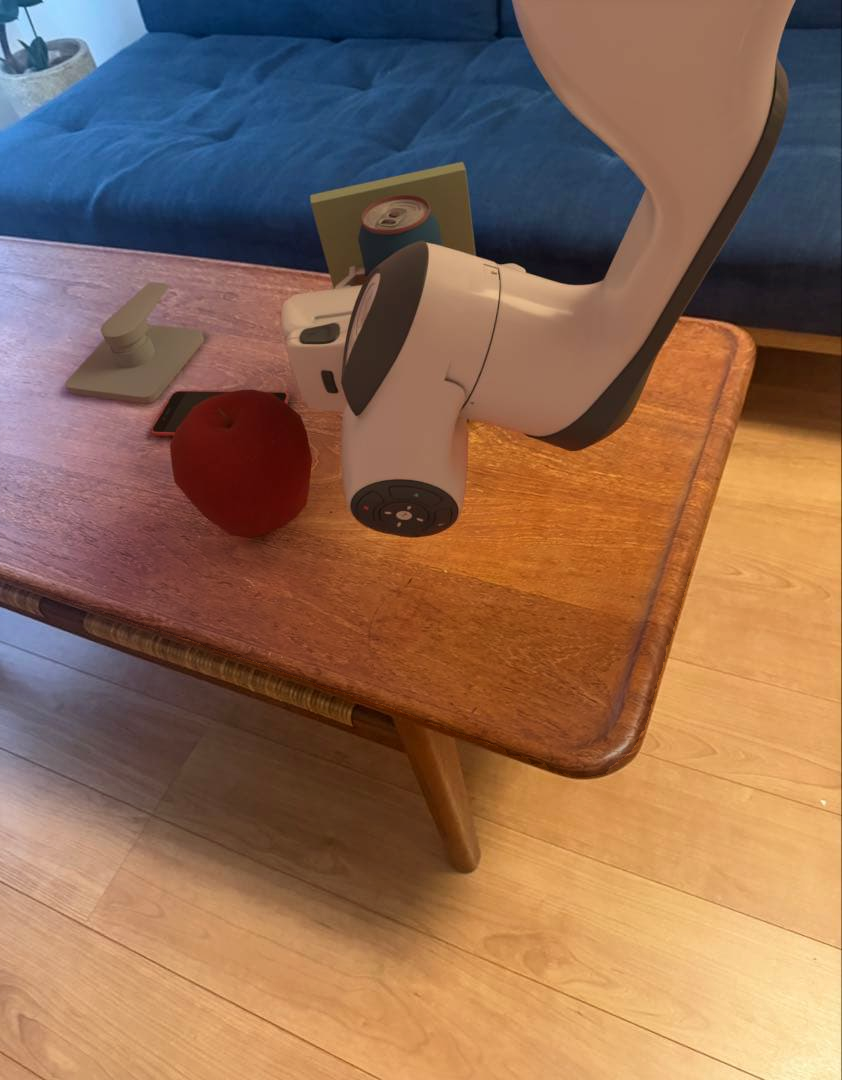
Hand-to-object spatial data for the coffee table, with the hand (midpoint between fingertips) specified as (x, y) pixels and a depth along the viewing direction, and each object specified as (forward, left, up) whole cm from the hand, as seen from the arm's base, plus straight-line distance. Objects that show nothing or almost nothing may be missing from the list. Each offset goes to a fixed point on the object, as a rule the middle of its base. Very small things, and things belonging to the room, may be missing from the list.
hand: (405, 265), depth 71 cm
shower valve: (+32, -19, -16) cm, 41 cm away
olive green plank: (0, -7, -16) cm, 17 cm away
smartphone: (+22, -5, -16) cm, 28 cm away
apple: (+17, +11, -16) cm, 26 cm away
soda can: (0, +1, -7) cm, 7 cm away
